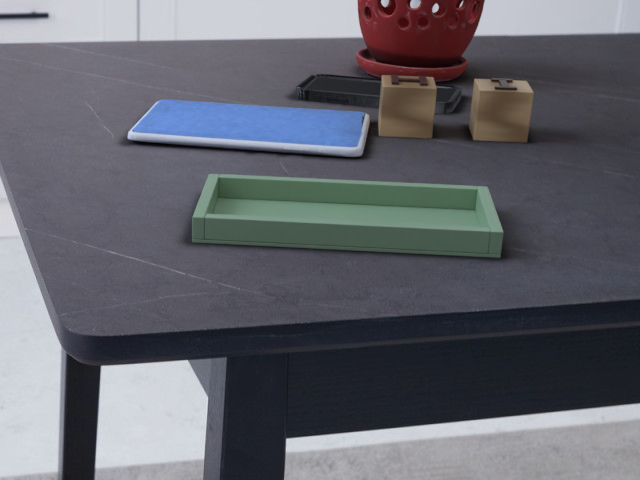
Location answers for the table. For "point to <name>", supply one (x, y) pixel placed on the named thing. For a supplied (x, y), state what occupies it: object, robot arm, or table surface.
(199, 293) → the table surface
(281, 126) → the tablet
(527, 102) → the wooden letter block
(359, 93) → the dark grey shallow tray
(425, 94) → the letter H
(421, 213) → the tray
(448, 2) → the flower pot
